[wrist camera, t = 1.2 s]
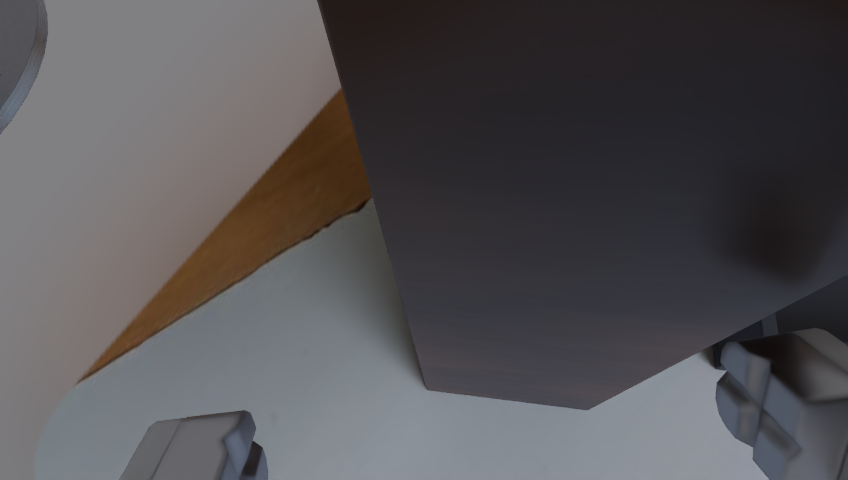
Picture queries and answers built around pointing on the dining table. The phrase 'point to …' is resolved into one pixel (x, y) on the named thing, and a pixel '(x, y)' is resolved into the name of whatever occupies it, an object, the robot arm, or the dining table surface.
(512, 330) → the shelf post
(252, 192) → the dining table surface
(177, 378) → the dining table surface
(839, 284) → the pan
